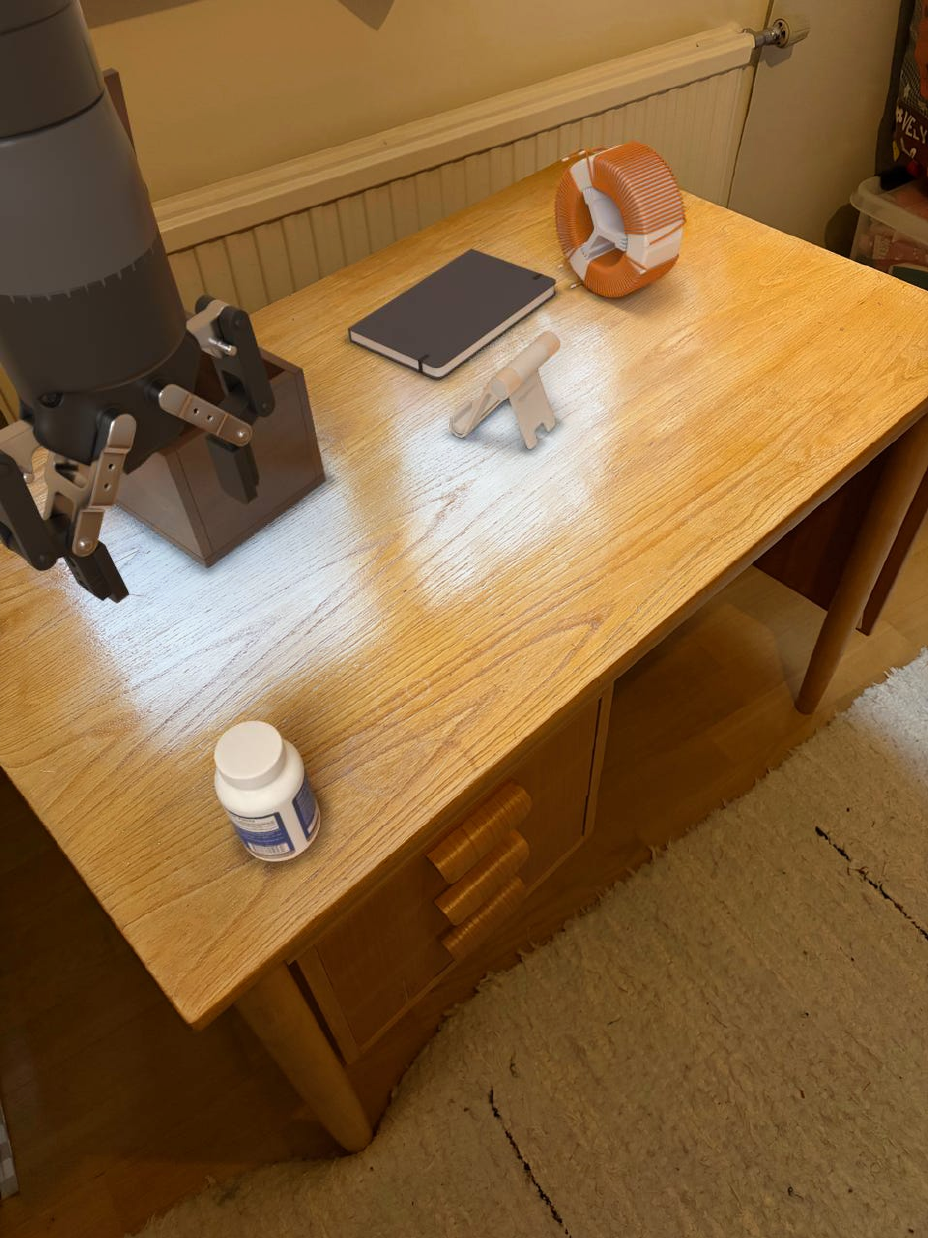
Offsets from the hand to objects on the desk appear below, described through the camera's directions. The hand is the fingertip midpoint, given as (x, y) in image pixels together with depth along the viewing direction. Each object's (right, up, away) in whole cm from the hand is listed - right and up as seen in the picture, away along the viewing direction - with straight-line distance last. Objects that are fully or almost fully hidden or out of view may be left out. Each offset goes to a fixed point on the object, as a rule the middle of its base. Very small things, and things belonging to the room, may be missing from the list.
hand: (179, 542), depth 45 cm
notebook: (+14, +30, +53) cm, 62 cm away
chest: (-9, +9, +36) cm, 38 cm away
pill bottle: (+3, -18, +13) cm, 22 cm away
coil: (+31, +34, +55) cm, 72 cm away
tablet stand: (+19, +15, +40) cm, 46 cm away
